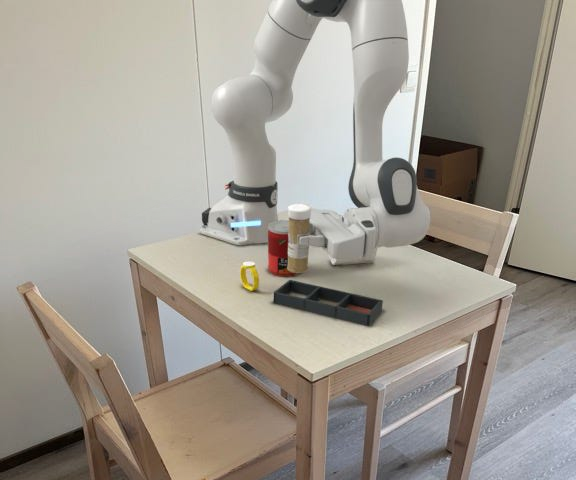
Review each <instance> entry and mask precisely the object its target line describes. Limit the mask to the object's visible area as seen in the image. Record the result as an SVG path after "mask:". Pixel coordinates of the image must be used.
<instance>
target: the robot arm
mask: <svg viewBox="0 0 576 480" xmlns="http://www.w3.org/2000/svg"><path fill="white" fill-rule="evenodd" d="M266 11H267V12H266V13H265V16H264V17H263V20H262V22H261V25H260V28H259V30H258V32H257V34H256V35H255V36H256V37H255V38H254V41H253V50H254V53H255V62H254V66H253V68H252V71H250V73H249V74H248V75H247V76H241V77H234V78H231V79H229V80H227V81H225V82H223V83H222V84H221V85H219V86H218V87H216V88H215V90H214V91H213V93H212V96H211V101H210V103H211V104H210V105H211V113H212V116H213V117H214V119H215V120H216V122H217V123H218V124H219V126H221V127H222V128H223V129H224V131H225V133H226V136H227V138H228V142H229V146H230V149H231V158H232V173H233V174H232V175H233V176H232V177H233V180H232V181H229V182H228V183H227V184H224V187H225V188H224V190H228V193H227V195H226V196H224V197H223V198H222V199H221V200H219V201H217V202H216V203H215V204H214V205H212V207H207V208H206V209H204V211H202V212H201V223H202V224H203V225H201V227H200V229H199V233H200V234H202V235H204V236H208V237H211V238H213V239H217V240H221V241H224V242H227V243H230V244H233V245H235V246H245V245H252V244H264V243H268V225H269V224H270V223H271V222H274V221H279V216H278V215H279V214H278V207H277V205H278V199H279V198H278V197H279V195H278V190H279V189H278V181H277V151H276V149H275V148H274V146H272V144H271V143H270V142H269V139H268V135H267V132H266V124H267V123H270V122H274V121H276V120H278V119H280V118H281V117H283V116H284V115H285V114H287V112H289V111H290V109H291V107H292V105H293V102H294V101H293V100H294V92H293V88H292V87H293V83H294V79H295V76H296V75H295V74H296V71H297V69H298V67H299V65H300V62H301V60H302V59H303V56H304V54H305V53H306V51H307V48H308V46H309V44H310V42H311V40H312V38H313V36H314V34H315V32H316V30H317V28H318V26H319V24H320V22H321V21H322V20H323V19H325V20H328V21H331V22H337V23H341V22H342V23H346V24H347V26H348V28H349V31H350V38H351V41H350V42H351V55H352V68H353V69H352V71H353V106H352V107H353V108H352V131H353V132H352V133H353V135H352V137H353V163H352V169H351V173H350V176H349V179H348V187H347V188H348V195H349V198H350V200H351V202H352V204H354V206H355V207H353V208H347V209H346V210H345V211H344V213H343V215H341V214H339V213H338V212H337V211H335V210H333V209H311V216H310V223H309V236H307V235H299V236H298V243H299V244H300V245H301V246H308V245H309V247H313V248H314V247H315V248H321V249H323V250H324V251H325V252H326V253H327V254H328V255H329V257H330V256H331V257H332V258H335V259H341V260H342V259H357V258H361V257H362V258H364V259H371V258H373V254H374V249H376V248H377V249H379V248H387V249H388V248H389V249H390V248H398V247H405V246H410V245H414V244H416V243H418V242H420V241H421V240H423V239H424V238H425V237H426V236H427V234H428V232H429V229H430V226H431V220H432V219H431V218H432V217H431V211H430V209H429V207H428V206H427V205H426V204H425V202H424V201H423V199H422V196H421V195H420V194H421V193H420V192H419V188H418V177H417V173H416V169H415V168H414V167H413V165H412V164H411V162H409V161H408V160H407V159H405V158H402V157H398V156H397V157H390V158H387V159H383V123H384V117H385V113H386V111H387V109H388V107H389V105H390V104H391V102H392V100H393V98H394V97H395V96H396V94H397V93H398V92H399V91H400V90H401V88H402V87H403V85H404V83H405V81H406V79H407V76H408V72H409V71H408V70H409V60H410V51H409V38H408V27H407V21H406V19H407V18H406V14H405V7H404V5H403V0H271V2H270V5H269V7H268V9H267V10H266Z"/></svg>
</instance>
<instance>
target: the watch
mask: <svg viewBox="0 0 576 480" xmlns="http://www.w3.org/2000/svg"><path fill="white" fill-rule="evenodd" d="M247 270H249V271H250V273H251V276H252V282H253V285H250V282H249V281H248V278H247ZM239 277H240V281H241V284H242V286H243V288H245V289H247V290H248V291H250V292H253V291H257V289H258V288H259V287H260V276H259V272H258V270H257V268H256V263H255V262H254V261H244V262H243V263H242V265H241V266H240V270H239Z"/></svg>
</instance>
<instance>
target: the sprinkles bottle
mask: <svg viewBox="0 0 576 480" xmlns="http://www.w3.org/2000/svg"><path fill="white" fill-rule="evenodd" d="M311 208H312V207H310V205H307V204H304V203H303V204H302V203H294V204H290V205H289V206H288V207H287V217H288V221H289V233H288V266H287V270H288V271H290V272H292V273H297V274H303V273H306V272H308V271H309V266H308V265H309V251H310V246H309V245H308V246H301V245H300V244H299V243H298V236H299V235H307V236H310V235H309V223H310V216H311V210H312V209H311Z"/></svg>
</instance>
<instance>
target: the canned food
mask: <svg viewBox="0 0 576 480" xmlns="http://www.w3.org/2000/svg"><path fill="white" fill-rule="evenodd" d="M288 233H289V219H288V220H286V219H285V220H284V219H283V220H282V219H281V220H278V221H274V222H271V223H270V224H269V225H268V242H267V264H268V265H267V267H268V271H269V272H270V274H272V275H275V276H278V277H292V276H295V275H297V274H298V273H292V272H290V271H288V270H287V266H288Z"/></svg>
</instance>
